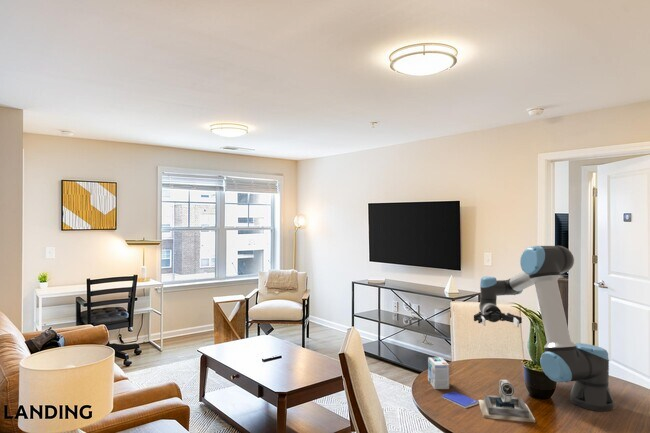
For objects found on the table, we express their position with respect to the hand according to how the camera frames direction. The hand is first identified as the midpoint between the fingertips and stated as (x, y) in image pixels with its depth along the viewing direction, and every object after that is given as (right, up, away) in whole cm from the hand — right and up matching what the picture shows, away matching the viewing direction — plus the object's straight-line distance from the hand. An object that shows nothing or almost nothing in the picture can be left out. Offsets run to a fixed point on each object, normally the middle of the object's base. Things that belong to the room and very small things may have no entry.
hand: (501, 323), depth 185 cm
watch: (-6, -29, -19) cm, 35 cm away
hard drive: (-20, -30, -8) cm, 37 cm away
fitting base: (-6, -30, -18) cm, 35 cm away
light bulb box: (-25, -30, +9) cm, 40 cm away
